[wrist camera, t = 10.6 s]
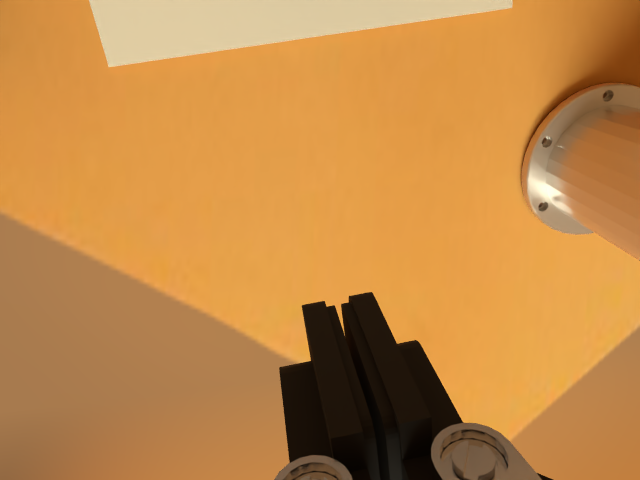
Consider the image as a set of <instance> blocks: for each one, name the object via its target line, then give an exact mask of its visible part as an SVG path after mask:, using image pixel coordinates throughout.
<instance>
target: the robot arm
mask: <svg viewBox="0 0 640 480" xmlns="http://www.w3.org/2000/svg"><path fill="white" fill-rule="evenodd" d="M542 140H543V141H542ZM521 183H522V189H523V195H524V197H525V200H526V202H527V205H528V207H529V208H530V210H531V211H532V212H533V214H534V215H535V216H536V217H537V218H538V219H539V220H541V221H542V222H543V223H544V224H546V225H547V226H549V227H551V228H552V229H554V230H557V231H559V232H562V233H566V234H574V235H581V234H591V233H596V234H598V235H599V236H601V237H602V238H604V239H606V240H607V241H609V242H610V243H612V244H614V245H615V246H617V247H618V248H620V249H622V250H623V251H625V252H627V253H628V254H630V255H631V256H633V257H635V258H636V259H638V260H639V261H640V87H637V86H634V85H630V84H624V83H603V84H599V85H595V86H590V87H588V88H586V89H583V90H581V91H579V92H577V93H575V94H573V95H572V96H570V97H569V98H567V99H566V100H564V101H563V102H561V103H560V104H559V105H558V106H557V107H556V108H555V109H554V110H552V111H551V112H550V113H549V114H548V116H547V117H546V118H545V119H544V121H543V122H542V123H541V124H540V125H539V127H538V129H537V130H536V132H535V134H534V135H533V137H532V139H531V141H530V143H529V146H528V148H527V151H526V153H525V157H524V161H523V166H522V180H521ZM341 308H342V316H343V324H344V332H345V336H344V332H343V329H342V326H341V323H340V320H339V317H338V314H337V311H336V308H335V306H328V307H326V304H325V301H322V302H316V303H311V304H306V305H302V310H303V316H304V322H305V327H306V333H307V339H308V345H309V351H310V357H311V361H309V362H304V363H299V364H294V365H289V366H284V367H280V368H279V369H280V380H281V389H282V398H283V407H284V415H285V425H286V433H287V442H288V451H289V460H290V463H289V464H288V465H287V466H286V467H284V468H283V469H282V470H281V471H280V472H279V473H278V475H277V476H276V478H275V480H553V479H550V478H548V477H545V476H543V475H541V474H538V473H536V472H535V471H534V470H533V468H532V467H531V466H530V465H529V464H528V463H527V462H526V460H525V459H524V458H523V457H522V455H521V454H520V453H519V452H518V451H517V450H516V449H515V447H514V446H513V445H512V444H511V442H510V441H509V440H507V439H506V438H505V437H504V436H503V435H502V434H501V433H499V432H498V431H496V430H494V429H492V428H490V427H488V426H484V425H480V424H477V423H463V422H462V420H461V418H460V416H459V414H458V413H457V411H456V409H455V407H454V405H453V403H452V402H451V400H450V398H449V396H448V394H447V392H446V390H445V389H444V387H443V385H442V383H441V381H440V379H439V378H438V376H437V374H436V372H435V370H434V368H433V367H432V365H431V363H430V361H429V359H428V357H427V356H426V354H425V352H424V350H423V348H422V346H421V345H420V343H419V342H418V341H417V340H414V341H409V342H404V343H399V344H397V343H396V341H395V339H394V337H393V335H392V333H391V330H390V328H389V326H388V324H387V322H386V320H385V318H384V316H383V314H382V312H381V309H380V307H379V305H378V303H377V301H376V299H375V297H374V295H373V293H372V292H369V293H364V294H358V295H353V296H349V303H344V304H341Z"/></svg>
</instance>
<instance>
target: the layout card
mask: <svg viewBox="0 0 640 480" xmlns="http://www.w3.org/2000/svg"><path fill="white" fill-rule="evenodd" d="M89 2H90V5H91V8H92V12H93V15H94V19H95V22H96V25H97V29H98V32H99V35H100V39H101V42H102V45H103V49H104V52H105V55H106V59H107V62H108V65H109V67H113V66H120V65H127V64H134V63H140V62H147V61H154V60H161V59H168V58H174V57H181V56H188V55H195V54H202V53H208V52H215V51H222V50H229V49H236V48H242V47H249V46H256V45H263V44H270V43H276V42H283V41H290V40H297V39H304V38H310V37H317V36H324V35H331V34H338V33H345V32H351V31H358V30H365V29H372V28H379V27H385V26H392V25H399V24H406V23H413V22H419V21H426V20H433V19H440V18H447V17H453V16H460V15H467V14H474V13H481V12H487V11H494V10H501V9H508V8H512V0H89Z"/></svg>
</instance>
